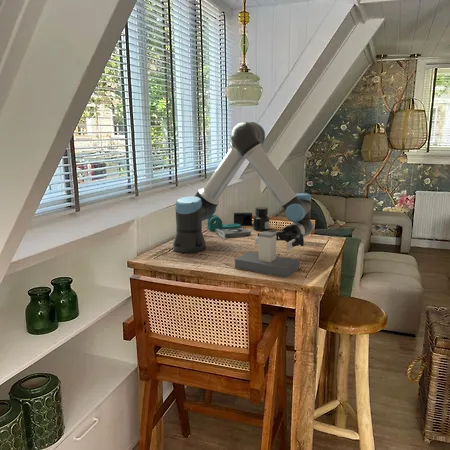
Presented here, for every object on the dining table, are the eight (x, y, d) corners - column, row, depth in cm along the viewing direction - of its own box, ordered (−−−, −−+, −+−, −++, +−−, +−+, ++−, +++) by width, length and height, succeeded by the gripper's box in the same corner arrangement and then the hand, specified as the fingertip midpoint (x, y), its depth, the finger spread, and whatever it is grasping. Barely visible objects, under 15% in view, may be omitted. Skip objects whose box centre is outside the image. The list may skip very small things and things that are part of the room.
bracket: (210, 231, 233) (209, 217, 232) (207, 229, 240) (207, 215, 238) (242, 229, 237) (242, 215, 236) (238, 227, 244) (238, 213, 242)
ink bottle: (270, 231, 233) (270, 209, 230) (253, 231, 233) (254, 209, 230) (268, 227, 242) (269, 206, 240) (253, 227, 243) (253, 206, 240)
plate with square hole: (234, 270, 169) (234, 259, 168) (249, 262, 179) (249, 251, 178) (286, 280, 158) (286, 268, 157) (299, 271, 168) (299, 260, 167)
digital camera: (234, 226, 246) (234, 214, 244) (233, 224, 251) (233, 212, 249) (252, 226, 246) (252, 214, 244) (251, 224, 251) (251, 212, 250)
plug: (258, 268, 167) (258, 233, 164) (264, 265, 172) (264, 231, 169) (269, 271, 165) (270, 235, 162) (275, 267, 169) (276, 232, 166)
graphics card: (222, 233, 215) (215, 228, 226) (222, 241, 216) (215, 235, 227) (254, 231, 220) (245, 226, 231) (253, 238, 221) (244, 233, 232)
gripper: (320, 245, 180) (301, 258, 162) (266, 237, 192) (243, 248, 175) (321, 227, 178) (302, 238, 160) (266, 221, 191) (243, 230, 173)
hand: (271, 243), depth 168 cm, fingers open, 13 cm apart
